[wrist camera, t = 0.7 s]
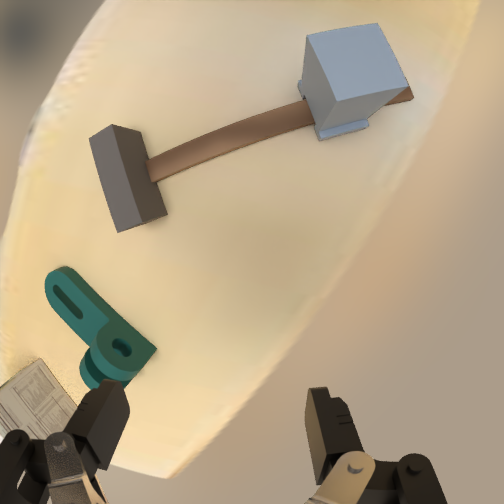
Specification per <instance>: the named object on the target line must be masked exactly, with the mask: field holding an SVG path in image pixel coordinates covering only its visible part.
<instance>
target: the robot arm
mask: <svg viewBox="0 0 504 504" xmlns="http://www.w3.org/2000/svg"><path fill="white" fill-rule="evenodd" d="M129 415H130V407H129V403H128V401H127V398H126V395H125V392H124V389H123V386H122V383H121V382H120V381H115V380H109V379H103V380H102V382H101V383H100V385H99V387H98V388H93V389H92V390H90V391H89V392H88V393H87V394H85V396H84V398H83V399H82V401H81V404H79V405H78V407H77V410H75V412H74V413H73V415H72V417H71V418H70V420H69V422H68V423H67V425H66V427H65V428H64V430H63V431H62V432H55V433H53V434H51V435H49V436H48V437H47V438H46V440H44V439H31V438H30V437H29V435H28V434H27V433H26V432H25V431H24V430H21V429H15V430H12V431H10V432H8V433H7V434H6V436H5V437H4V439H3V440H2V442H1V444H0V504H47V501H48V499H49V496H51V500H52V504H109V503H108V501H107V498H106V496H105V494H104V492H103V489H102V487H101V485H100V482H99V480H98V478H97V475H96V474H95V473H96V471H97V469H98V468H99V469H102V470H107V469H108V466H109V464H110V461H111V459H112V456H113V454H114V452H115V449H116V447H117V444H118V442H119V440H120V437H121V435H122V432H123V430H124V428H125V425H126V423H127V421H128V418H129ZM305 427H306V432H307V437H308V442H309V448H310V452H311V458H312V463H313V469H314V474H315V480H316V485H321V486H320V488H319V489H318V490H317V492H316V493H315V494H314V495H313V497H312V498H309V499H308V500H307V501H306V502H305V503H304V504H447V501H446V499H445V496H444V493H443V491H442V488H441V486H440V483H439V481H438V478H437V476H436V474H435V471H434V469H433V466H432V464H431V462H430V460H429V459H428V458H427V457H425V456H423V455H421V454H416V453H414V454H408V455H406V456H404V457H402V458H401V459H400V461H399V462H387V461H378V460H375V459H373V458H372V457H371V456H370V455H368V454H367V453H365V452H364V450H363V447H362V444H361V442H360V439H359V436H358V433H357V430H356V428H355V425H354V423H353V419H352V417H351V415H350V411H349V408H348V406H347V404H346V403H345V402H344V401H343V400H342V399H341V398H339V397H336V398H331V397H330V394H329V391H328V388H327V387H318V388H309V390H308V395H307V402H306V409H305ZM23 471H25V472H26V473H25V475H24V477H23V479H22V481H21V483H20V485H19V487H18V490H17V483H18V481H19V479H20V477H21V475H22V473H23Z"/></svg>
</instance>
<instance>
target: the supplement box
mask: <svg viewBox="0 0 504 504" xmlns="http://www.w3.org/2000/svg"><path fill="white" fill-rule="evenodd" d="M75 410H77V406H76V404H75V403H74V402H73V401H72V400H71V398H70V397H69V396H68V395H67V393H66V392H65V391H64V389H63V388H62V387H61V385H60V384H59V383H58V381H57V380H56V379H55V377H54V376H53V375H52V373H51V372H50V370H49V369H48V368H47V366H46V365H45V363H44V362H43V360H42V359H39V360H37V361H35V362H34V363H32V364H30V365H29V366H27V367H25V368H24V369H22V370H20V371H19V372H17V373H16V374H15V375H14V376H13V377H11V378H10V379H9V380H8V381H7V382H5V383H4V384H3V385H2V386H1V387H0V444H1V442H2V440H3V439H4V437H5V436H6V434H7V433H8V432H10V431H12V430H15V429H21V430H24V431H25V432H26V433H27V434H28V435H29V437H30V438H31V439H44V440H46V438H47V437H48V436H49V435H51V434H53V433H55V432H62V431H63V430H64V428H65V427H66V425H67V423H68V422H69V420H70V418H71V417H72V415H73V413H74V412H75Z"/></svg>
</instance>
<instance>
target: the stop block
mask: <svg viewBox="0 0 504 504" xmlns="http://www.w3.org/2000/svg"><path fill="white" fill-rule="evenodd" d="M89 142H90V145H91V149H92V153H93V157H94V161H95V164H96V168H97V171H98V175H99V178H100V181H101V185H102V188H103V191H104V194H105V198H106V201H107V204H108V207H109V210H110V213H111V216H112V219H113V222H114V224H115V227H116V230H117V233H119V232H122V231H125V230H128V229H131V228H134V227H137V226H140V225H143V224H146V223H148V222H151V221H153V220H155V219H158V218H160V217H163V216H165V215H168V214H167V212H166V209H165V206H164V203H163V200H162V197H161V194H160V192H159V189H158V186H157V183H156V182H151V179H150V176H149V173H148V170H147V167H146V164H145V161H147V160H149V158H148V155H147V152H146V149H145V146H144V142H143V139H142V136H141V133H140V132H139V131H135V130H132V129H128V128H124V127H121V126H117V125H113V124H111V125H110V126H108V127H106V128H105V129H103V130H101V131H100V132H98V133H97V134H95V135H93V136H92V137H90V138H89Z"/></svg>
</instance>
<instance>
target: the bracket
mask: <svg viewBox="0 0 504 504" xmlns="http://www.w3.org/2000/svg"><path fill="white" fill-rule="evenodd" d="M45 293H46V297H47V299H48V301H49V303H50V305H51V307H52V308H53V309H54V310H55V312H56V313H57V314H58V315H59V316H60V317H61V318H62V319H63V320H64V321H65V322H66V323H67V324H68V325H69V327H70V328H71V329H72V330H73V331H74V332H75V333H76V334H77V335H78V336H79V337H80V338H81V339H82V340H83V341H84V342H85V343H86V344H87V345H88V346H89V347H90V348H89V349H88V350H87V351H86V353H85V355H84V357H83V358H82V360H81V362H80V367H79V369H80V375H81V377H82V379H83V381H84V383H85V384H86V385H87V386H88V387H89V388H90V389H91V390H92V389H93V388H98V387H99V385H100V383H101V382H102V380H103V379H109V380H115V381H120V382H121V383H122V386H123V389H124V388H125V387H126V386H127V385H128V384H129V383H130V381H131V380H132V379H133V378H134V377H135V376H136V375H137V373H138V372H139V371H140V370H141V369H142V368H143V367H144V365H145V364H146V363H147V361H148V360H149V359H150V357H151V356H152V355H153V353H154V352H155V351H156V349H157V348H156V347H155V346H154V345H153V344H152V343H150V342H149V341H148V340H147V339H146V338H145V337H143V336H142V335H141V334H140V333H139V332H138V331H137V330H135V329H134V328H133V327H132V326H131V325H130V324H129V323H128V322H127V321H125V320H124V319H123V318H122V317H121V316H120V315H119V314H118V313H117V312H116V311H115V310H114V309H113V308H112V307H111V306H110V305H109V304H107V303H106V302H105V301H104V300H103V299H102V298H101V297H100V296H99V295H98V294H97V293H96V292H95V291H94V290H93V289H92V288H91V287H90V286H89V285H88V284H87V282H86V281H85V280H84V279H83V278H82V277H81V276H80V275H79V274H78V273H77V272H76V271H75V270H73V269H72V268H70V267H61V268H58V269H56V270H54V271H52V272H50V273H49V274H48V275H47V277H46V279H45Z"/></svg>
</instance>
